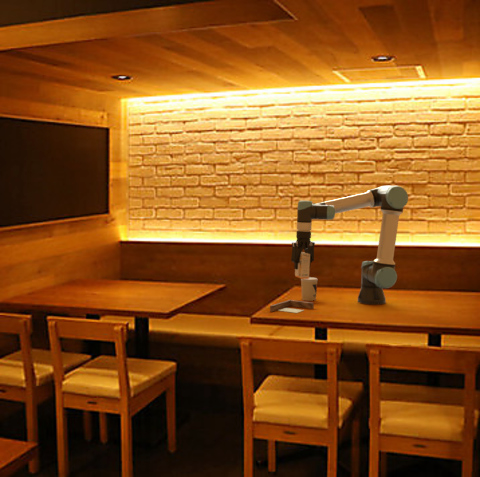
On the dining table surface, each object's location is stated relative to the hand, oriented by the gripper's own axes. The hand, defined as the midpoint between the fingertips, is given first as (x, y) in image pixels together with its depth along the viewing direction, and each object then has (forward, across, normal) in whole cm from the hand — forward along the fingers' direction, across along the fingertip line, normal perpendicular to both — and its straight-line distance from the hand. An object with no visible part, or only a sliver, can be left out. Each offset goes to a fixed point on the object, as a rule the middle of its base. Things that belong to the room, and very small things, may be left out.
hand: (302, 275), depth 354 cm
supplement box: (+2, 0, 0) cm, 2 cm away
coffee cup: (+18, -22, -20) cm, 35 cm away
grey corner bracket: (+18, +5, -1) cm, 19 cm away
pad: (+18, +6, 0) cm, 19 cm away
